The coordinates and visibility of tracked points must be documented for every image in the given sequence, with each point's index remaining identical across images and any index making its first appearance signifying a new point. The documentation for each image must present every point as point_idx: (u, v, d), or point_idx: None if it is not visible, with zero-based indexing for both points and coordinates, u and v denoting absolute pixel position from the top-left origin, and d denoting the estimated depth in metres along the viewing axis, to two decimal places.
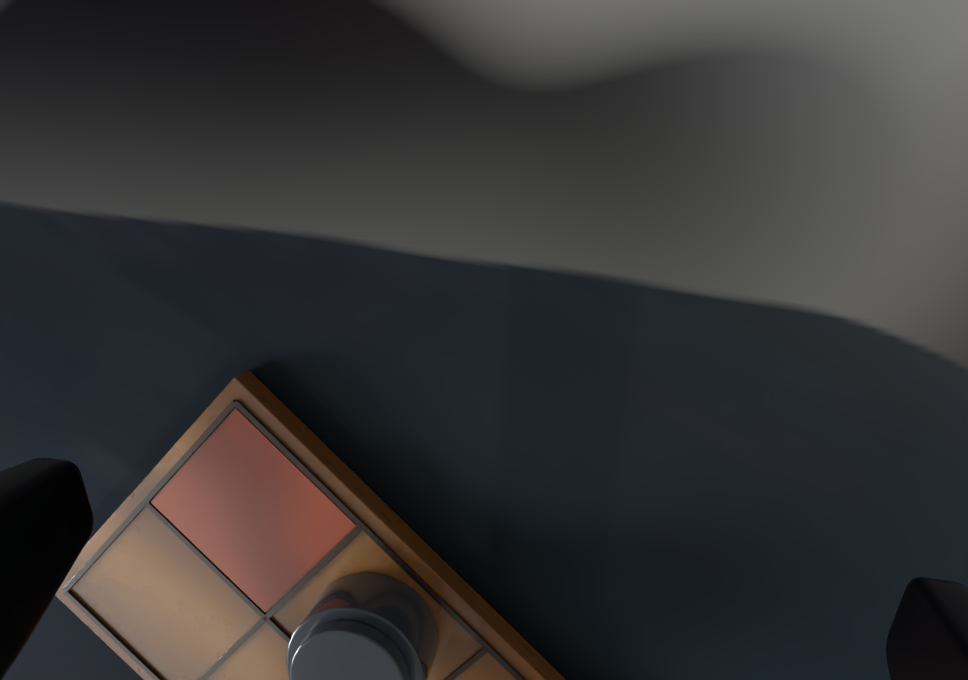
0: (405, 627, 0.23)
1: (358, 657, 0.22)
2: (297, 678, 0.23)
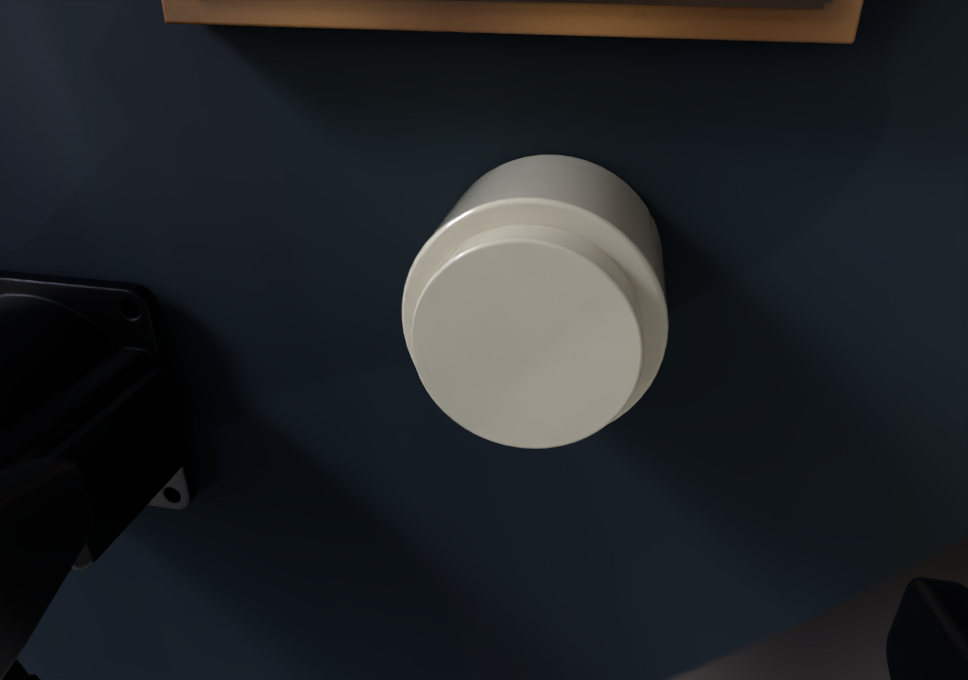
0: None
1: None
2: None
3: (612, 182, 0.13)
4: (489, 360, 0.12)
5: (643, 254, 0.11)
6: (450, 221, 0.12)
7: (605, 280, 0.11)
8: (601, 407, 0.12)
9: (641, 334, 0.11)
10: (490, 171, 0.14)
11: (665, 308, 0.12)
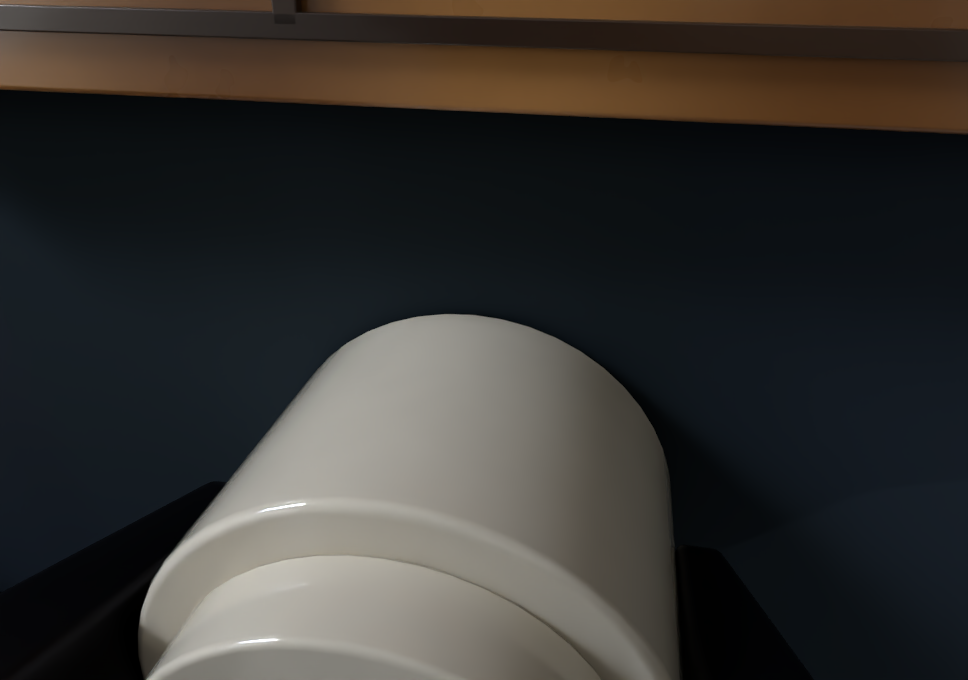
0: None
1: None
2: None
3: (574, 382, 0.07)
4: None
5: (633, 624, 0.05)
6: (205, 529, 0.05)
7: None
8: None
9: None
10: (356, 339, 0.08)
11: None
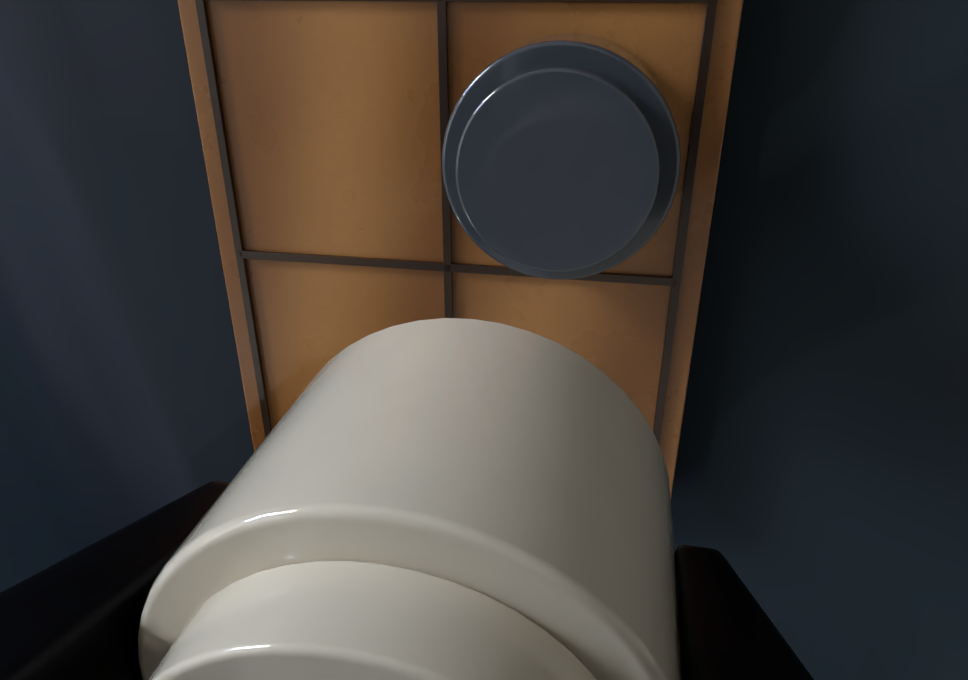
0: (678, 175, 0.14)
1: (613, 157, 0.13)
2: (496, 109, 0.13)
3: (574, 387, 0.07)
4: None
5: (632, 630, 0.05)
6: (205, 535, 0.05)
7: None
8: None
9: None
10: (356, 343, 0.08)
11: None
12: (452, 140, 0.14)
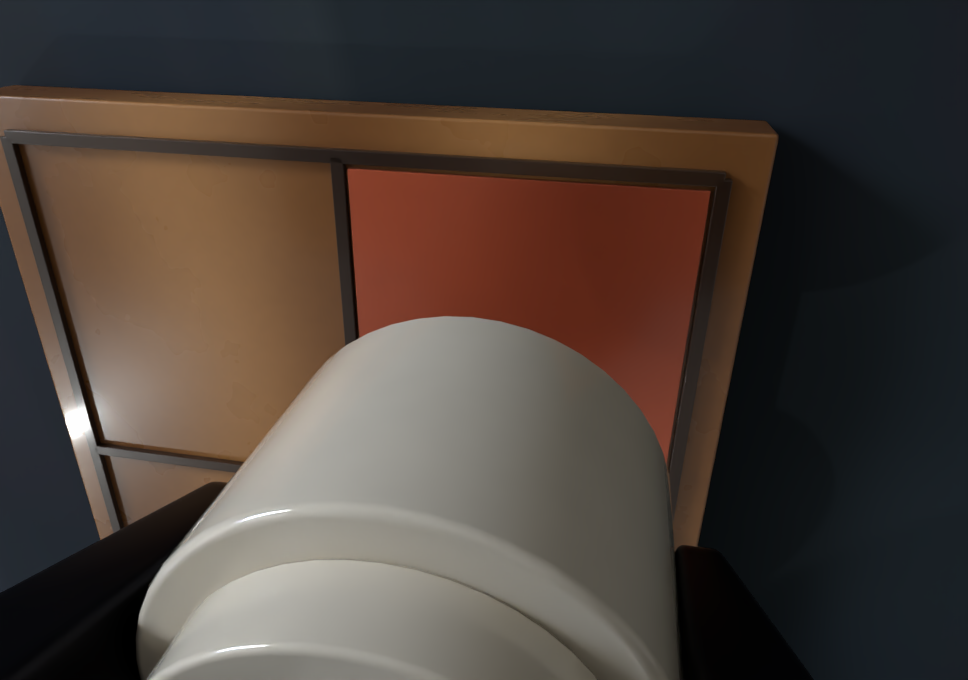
0: None
1: None
2: None
3: (574, 385, 0.07)
4: None
5: (633, 630, 0.05)
6: (203, 534, 0.05)
7: None
8: None
9: None
10: (355, 341, 0.08)
11: None
12: None
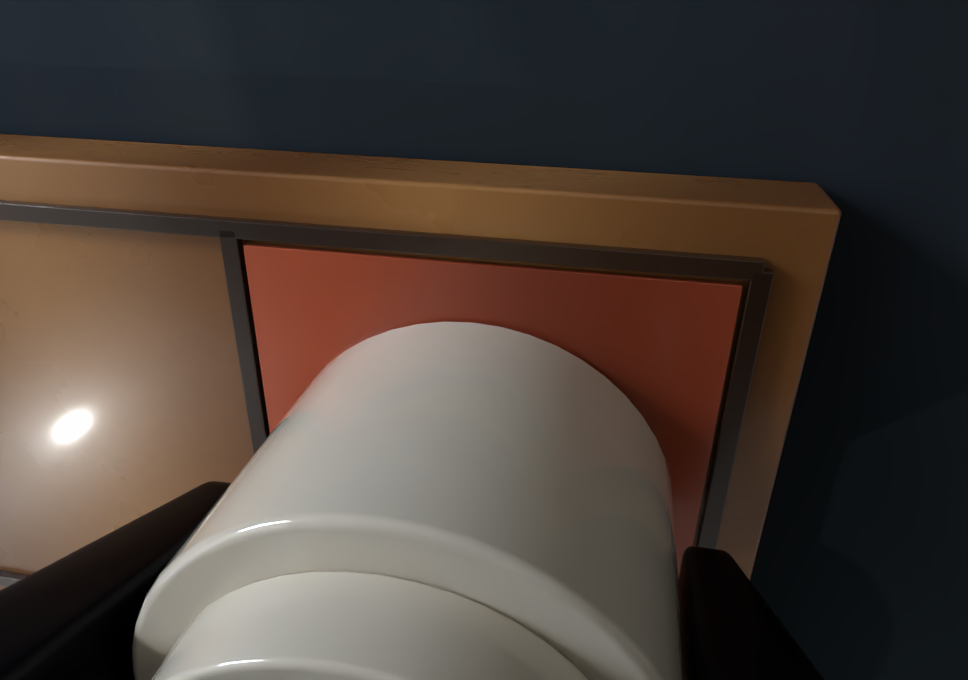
0: None
1: None
2: None
3: (575, 392, 0.07)
4: None
5: (635, 642, 0.05)
6: (200, 544, 0.05)
7: None
8: None
9: None
10: (354, 346, 0.08)
11: None
12: None
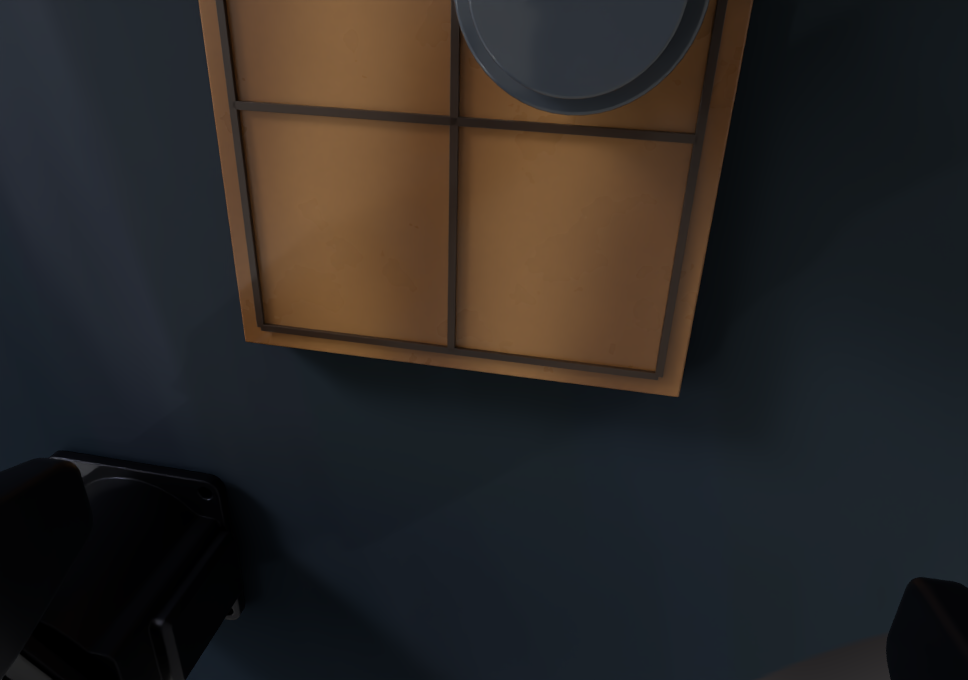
0: None
1: None
2: None
3: None
4: None
5: None
6: None
7: None
8: None
9: None
10: None
11: None
12: None
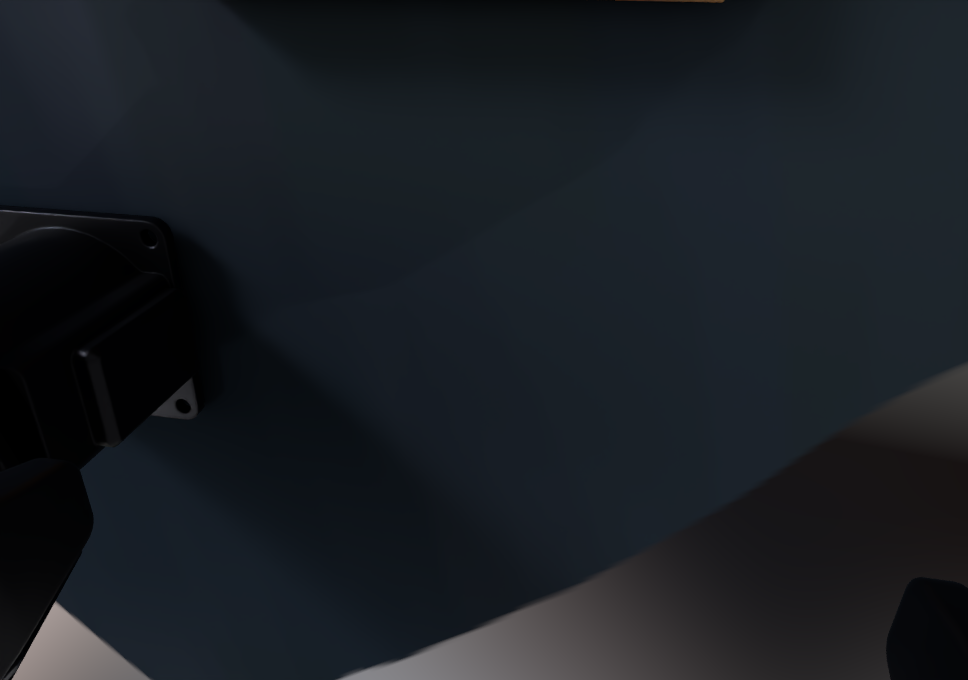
0: None
1: None
2: None
3: None
4: None
5: None
6: None
7: None
8: None
9: None
10: None
11: None
12: None
